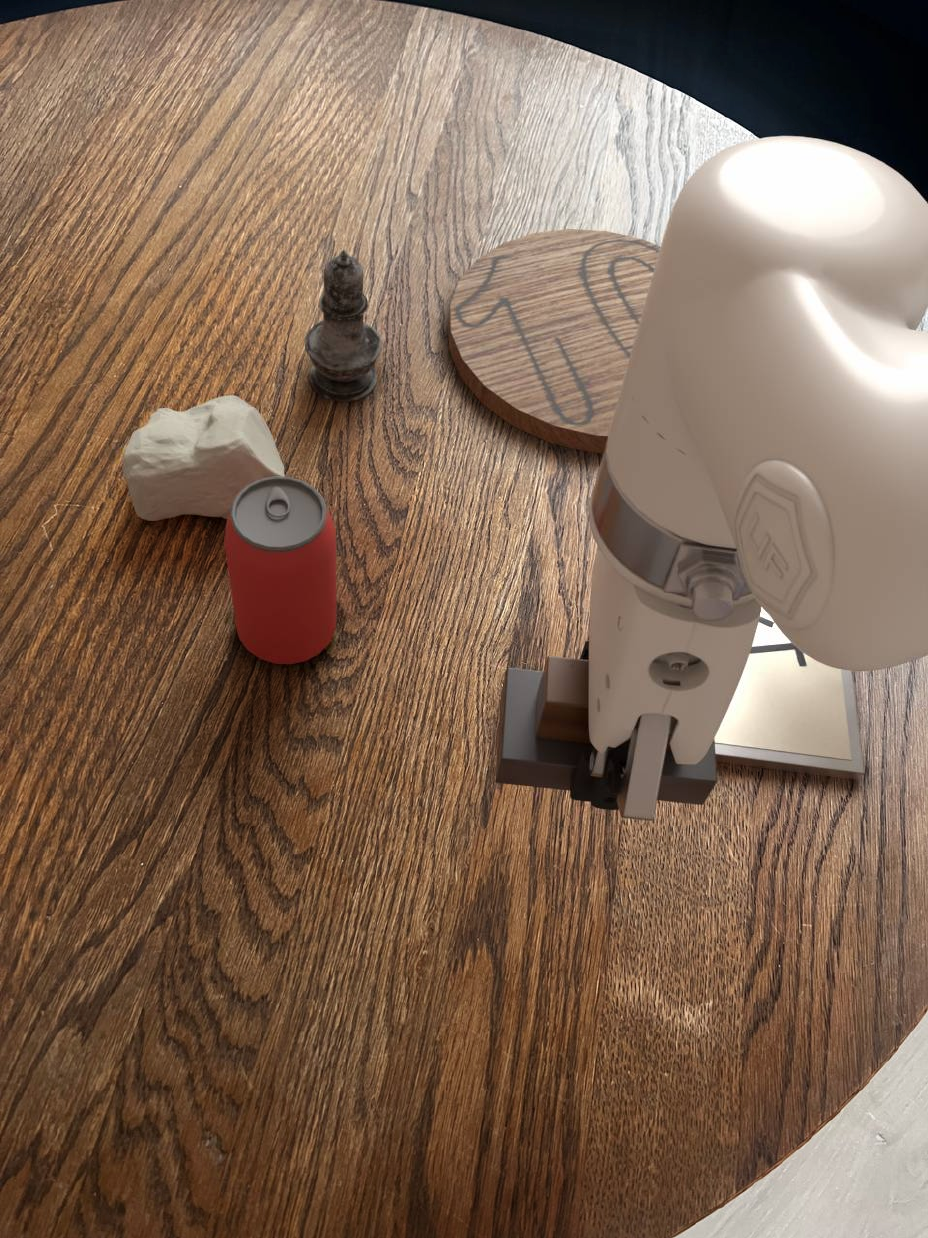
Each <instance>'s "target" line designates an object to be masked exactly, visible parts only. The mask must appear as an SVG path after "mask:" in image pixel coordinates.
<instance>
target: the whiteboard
mask: <svg viewBox="0 0 928 1238" xmlns="http://www.w3.org/2000/svg"><path fill="white" fill-rule="evenodd" d="M859 725H860V724H859V716H858V709H857V701H856V692H855V684H854V675H853V671H849V670H842V669H837V668H833V667H830V666H827V665H824V664H822V663H820V662H818V661H816V660H814V659H812V658H811V657H809V656H808V655H806V654H805V653H803V652H802V651H800V650H799V649H798V648H797V647H796V646H794V645H793V644H792V643H791V642H790V641H789V640H788V638H787V637H786V636H785V635H784V634H783V633H782V632H781V631H780V630H779V628H778V627H777V625H776V624H775V622H774V621H773V620H772V618H771V617H770V616H769V615H768V614H767V613H766V612H765V611H764V609H763V608H761V614H760V618H759V622H758V627H757V630H756V634H755V638H754V641H753V644H752V648H751V651H750V654H749V657H748V660H747V663H746V666H745V668H744V671H743V674H742V677H741V679H740V682H739V684H738V687H737V689H736V692H735V694H734V696H733V699H732V701H731V703H730V706H729V708H728V710H727V712H726V715H725V717H724V719H723V721H722V723H721V725H720V728H719V730H718V732H717V734H716V736H715V754H716V763H722V764H723V763H724V764H731V765H739V766H746V767H753V768H754V767H755V768H761V769H762V768H763V769H769V770H770V769H771V770H778V771H785V772H792V773H793V772H794V773H800V774H801V773H802V774H810V775H816V776H817V775H818V776H824V777H833V778H838V779H848V780H855V781H859V780H860V779H861V778H862V777H863V776H864V774H865V767H864V766H865V765H864V758H863V749H862V741H861V733H860V727H859Z"/></svg>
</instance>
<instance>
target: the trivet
mask: <svg viewBox="0 0 928 1238" xmlns="http://www.w3.org/2000/svg"><path fill="white" fill-rule="evenodd" d="M660 247H661V245H658V244H655V243H654V242H653V243H652V242H651V241H648V240H645V239H643V238H639V237H634V236H630V235H625V234H620V233H617V232H613V231H607V230H593V229H577V228H576V229H575V228H567V229H566V228H565V229H558V230H557V229H556V230H548V231H541V232H539V231H538V232H533V233H530V234H527V235H524V236H521V237H518V238H515V239H511V240H509V241H506V242H503V243H500V244H499V245H497V247H494V248H493V249H492V250H489V251H488V252H486V253H485V254H483V255H481V256H480V257H478V258H477V259H476V260H475V261H474V262H473V263H472V265H470V266H469V268H468V269H467V271H466V272H464V274H463V275H462V276H461V277H460V278H459V279H458V282H457V285H456V287H455V290H454V293H453V295H452V298H451V301H450V304H449V311H448V312H449V313H448V321H447V322H448V323H447V326H448V327H447V329H448V351H449V353H450V355H451V358H452V360H453V362H454V365H455V368H456V370H457V372H458V374H459V377H460V379H461V380H462V381H463V383H464V384H465V385H466V386H467V387H468V388H469V390H470V391H471V392H472V393H473V394H474V396H475V397H476V398H477V399H478V401H479V402H480V403H481V404H482V405H483V406H485V407H486V408H487V409H489V410H490V411H491V412H493V413H494V414H496V415H497V416H498V417H500V418H501V419H503V420H504V421H505V422H507V423H508V424H509V425H511V426H512V427H514V428H516V429H518V430H520V431H523V432H524V433H527V434H529V435H531V436H534V437H536V438H538V439H541V440H542V441H544V442H547V443H550V444H553V445H557V446H559V447H564V448H565V447H566V448H569V449H575V450H577V451H578V450H579V451H582V452H586V453H589V454H590V453H591V454H603V453H604V449H605V446H606V442H607V439H608V435H609V430H610V427H611V423H612V420H613V416H614V412H615V409H616V405H617V402H618V398H619V394H620V391H621V387H622V384H623V380H624V377H625V373H626V369H627V366H628V362H629V359H630V355H631V351H632V348H633V344H634V341H635V337H636V333H637V330H638V326H639V323H640V319H641V316H642V312H643V308H644V305H645V301H646V298H647V294H648V290H649V287H650V283H651V280H652V276H653V272H654V269H655V265H656V262H657V258H658V255H659V251H660Z"/></svg>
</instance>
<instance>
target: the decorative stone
mask: <svg viewBox="0 0 928 1238" xmlns="http://www.w3.org/2000/svg"><path fill="white" fill-rule="evenodd" d="M121 461H122V462H121V463H122V471H123V472H122V474H123V479H124V481H125V482H126V484H127V488H128V492H129V496H130V499H131V502H132V504H133V509H134V511H135V515H137V517H139V518H140V519H143V520H145V521H149V522H156V521H161V520H165V519H173V518H176V517H179V516H182V515H193V516H194V515H195V516H203V517H208V518H210V517H211V518H220V517H221V518H222V519H225V520H228V517H229V515H230V512H231V504H232V503H233V501H234V499H235V497H236V496H237V494H238V493H239V492H240V491H241V490H242V489H244V488H245V487H246V486H247V485H249V484H251V483H253V482H255V481H257V480H259V479H263V478H268V477H273V476H281V477H286V475H285V466H284V463H283V462H282V459H281V455H280V453H279V451H278V449H277V445H276V441H275V439H274V437H273V435H272V431H271V430H270V428H269V426H268V424H267V423H266V421H265V419H264V418H263V416H262V415H261V414H260V412H259V411H258V409H257V408H255V406H252V405H251V404H250V403H248V402H246V401H245V400H243V399H242V398H240V397H239V396H237V395H231V394H229V395H222V396H217V397H215V398H212V399H210V400H208V401H206V402H203V403H201V404H198V405H195V406H193V407H191V408H188V409H186V410H184V411H177V410H173V409H171V408H169V407H162V408H160V407H159V408H158V409H156V410H154V411H153V412H152V413H151V415H149V418H148V422H147V423H146V424H145V425H144V426H143V427H141V428H138V429H136V430H134V431H133V432H132V434H131V436H130V438H129V441H128V442H127V445H126V447H125V448H124V451H123V454H122V459H121Z"/></svg>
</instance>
